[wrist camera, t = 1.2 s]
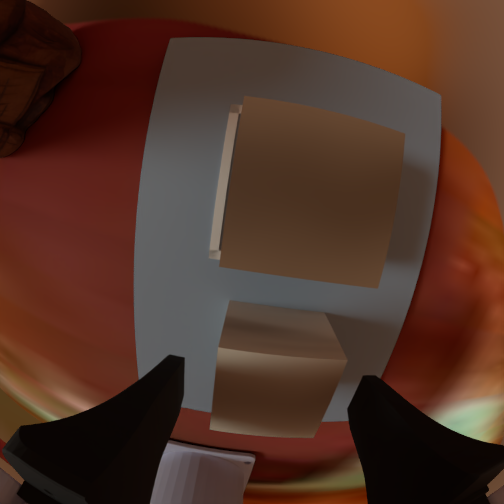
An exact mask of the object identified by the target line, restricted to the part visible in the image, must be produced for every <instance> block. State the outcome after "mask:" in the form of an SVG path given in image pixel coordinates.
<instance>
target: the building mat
mask: <svg viewBox="0 0 504 504" xmlns="http://www.w3.org/2000/svg"><path fill="white" fill-rule="evenodd" d="M244 96H250V97H258V98H265V99H272V100H278V101H284V102H290V103H296V104H301V105H306V106H311V107H315V108H320V109H324V110H328V111H333V112H337V113H341V114H344V115H348V116H352V117H355V118H359V119H362V120H366V121H369V122H372V123H375V124H379V125H382V126H385V127H388V128H391V129H393V130H396V131H399V132H402V133H405V144H404V155H403V164H402V173H401V181H400V188H399V194H398V201H397V207H396V212H395V218H394V223H393V228H392V233H391V238H390V243H389V247H388V251H387V256H386V260H385V264H384V268H383V272H382V276H381V279H380V283H379V287H378V289H376V288H367V287H359V286H351V285H344V284H336V283H328V282H321V281H313V280H306V279H299V278H292V277H285V276H277V275H270V274H264V273H257V272H250V271H243V270H237V269H230V268H223V267H219V263H220V255H221V247H222V239H223V231H224V224H225V216H226V209H227V202H228V195H229V188H230V181H231V174H232V167H233V161H234V154H235V148H236V142H237V136H238V129H239V123H240V117H241V112H242V106H243V100H244ZM440 144H441V95H439V94H438V93H436V92H434V91H431V90H429V89H427V88H425V87H423V86H421V85H419V84H417V83H414V82H412V81H409V80H408V79H405V78H403V77H400V76H398V75H395V74H393V73H390V72H388V71H385V70H382V69H380V68H377V67H373V66H371V65H368V64H365V63H362V62H358V61H355V60H352V59H349V58H345V57H341V56H338V55H334V54H330V53H326V52H322V51H318V50H313V49H309V48H304V47H298V46H293V45H287V44H281V43H274V42H267V41H258V40H248V39H235V38H214V37H187V38H170V41H169V44H168V48H167V51H166V54H165V58H164V61H163V65H162V69H161V73H160V76H159V80H158V84H157V89H156V93H155V97H154V102H153V106H152V111H151V116H150V121H149V126H148V132H147V137H146V143H145V150H144V156H143V163H142V170H141V178H140V187H139V196H138V207H137V219H136V233H135V254H134V318H135V338H136V353H137V365H138V375H139V379H141V378H142V377H143V376H144V375H146V374H147V373H148V372H149V371H151V370H152V369H153V368H154V367H155V366H156V365H158V364H159V363H160V362H161V361H162V360H163V359H164V358H165V357H166V356H168V355H169V354H171V355H176V356H180V357H185V373H184V397H183V401H182V405H181V407H185V408H189V409H194V410H200V411H205V412H211V411H212V401H213V390H214V381H215V371H216V362H217V352H218V345H219V341H220V337H221V333H222V329H223V325H224V321H225V317H226V312H227V308H228V304H229V300H232V301H239V302H245V303H252V304H259V305H267V306H274V307H282V308H290V309H298V310H307V311H316V312H324V313H325V315H326V317H327V319H328V321H329V323H330V325H331V327H332V329H333V331H334V333H335V335H336V337H337V339H338V341H339V343H340V345H341V347H342V349H343V351H344V354H345V356H346V358H347V360H348V361H347V363H346V366H345V368H344V371H343V374H342V376H341V379H340V381H339V383H338V386H337V388H336V391H335V393H334V395H333V397H332V400H331V402H330V404H329V406H328V409H327V411H326V413H325V415H324V417H323V419H322V421H321V422H327V421H349V420H348V413H347V408H348V406H349V404H350V402H351V400H352V398H353V396H354V394H355V391H356V389H357V387H358V385H359V383H360V381H361V378H362V376H363V375H376V376H377V377H379V378H381V376H382V374H383V372H384V369H385V367H386V365H387V363H388V360H389V358H390V356H391V353H392V351H393V349H394V346H395V344H396V341H397V339H398V336H399V334H400V331H401V328H402V326H403V323H404V320H405V317H406V314H407V311H408V308H409V305H410V302H411V299H412V296H413V293H414V290H415V286H416V283H417V279H418V276H419V272H420V269H421V265H422V261H423V257H424V253H425V248H426V244H427V240H428V235H429V230H430V225H431V220H432V214H433V208H434V202H435V195H436V188H437V180H438V170H439V159H440Z"/></svg>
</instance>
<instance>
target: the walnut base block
mask: <svg viewBox="0 0 504 504" xmlns="http://www.w3.org/2000/svg"><path fill="white" fill-rule="evenodd" d="M404 144H405V133H402V132H399V131H396V130H393V129H391V128H388V127H385V126H382V125H379V124H375V123H372V122H369V121H366V120H362V119H359V118H355V117H352V116H348V115H344V114H341V113H337V112H333V111H328V110H324V109H320V108H315V107H311V106H306V105H301V104H296V103H290V102H284V101H278V100H272V99H265V98H258V97H250V96H244V100H243V106H242V112H241V117H240V123H239V129H238V136H237V142H236V148H235V154H234V161H233V167H232V174H231V181H230V188H229V195H228V202H227V209H226V216H225V224H224V231H223V239H222V247H221V255H220V263H219V267H223V268H230V269H237V270H243V271H250V272H257V273H264V274H270V275H277V276H285V277H292V278H299V279H306V280H313V281H321V282H328V283H336V284H344V285H351V286H359V287H367V288H376V289H378V287H379V283H380V279H381V276H382V272H383V268H384V264H385V260H386V256H387V251H388V247H389V243H390V238H391V233H392V228H393V223H394V218H395V212H396V207H397V201H398V194H399V188H400V181H401V173H402V164H403V155H404Z"/></svg>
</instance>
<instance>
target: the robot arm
mask: <svg viewBox="0 0 504 504" xmlns="http://www.w3.org/2000/svg"><path fill="white" fill-rule="evenodd" d="M184 373H185V357H180V356H176V355H171V354H169V355H168V356H166V357H165V358H164V359H163V360H162V361H161V362H160V363H159V364H158V365H156V366H155V367H154V368H153V369H152V370H151V371H149V372H148V373H147V374H146V375H144V376H143V377H142V378H141V379H139V380H138V381H137V382H135V383H134V384H133V385H131V386H130V387H128V388H127V389H125V390H124V391H122V392H121V393H119V394H118V395H116V396H114V397H113V398H111V399H109V400H107V401H106V402H104V403H102V404H100V405H98V406H96V407H93V408H91V409H89V410H86V411H84V412H81V413H79V414H76V415H73V416H70V417H67V418H63V419H60V420H55V421H51V422H46V423H40V424H33V425H24V426H20V427H19V429H18V430H17V431H16V432H15V434H14V435H13V436H12V437H11V439H10V440H9V441H8V442H7V444H6V445H5V446H4V448H3V449H2V452H3V455H4V457H5V458H6V459H7V461H8V462H9V463H10V464H11V466H12V467H13V468H14V469H15V470H16V471H17V472H18V474H19V475H20V476H21V477H22V478H23V479H24V480H25V481H24V482H23V484H22V485H21V484H20V483H18V482H17V481H16V480H15V479H14V478H12V477H11V476H10V475H9V474H7V473H6V472H5V471H4V470H3V469H1V468H0V504H243V493H244V491H245V488H246V485H247V482H248V480H249V477H250V474H251V471H252V468H253V465H254V463H255V455H254V454H251V453H242V452H233V451H225V450H218V449H212V448H206V447H200V446H195V445H190V444H185V443H180V442H176V441H172V440H169V438H170V436H171V433H172V431H173V428H174V426H175V423H176V421H177V418H178V416H179V412H180V409H181V405H182V401H183V397H184ZM347 413H348V420H349V425H350V430H351V433H352V437H353V440H354V443H355V446H356V449H357V452H358V455H359V459H360V462H361V465H362V469H363V473H364V477H365V484H366V491H367V501H368V504H504V486H502V487H501V488H499V489H498V490H497V491H495V492H494V493H492V494H491V495H490V496H488V497H487V496H486V494H485V493H487V492H488V491H489V488H488V486H487V484H488V483H490V482H491V481H492V480H493V479H494V478H495V477H496V476H497V475H498V474H499V473H500V472H501V471H502V470H503V469H504V446H503V445H498V444H493V443H487V442H483V441H479V440H476V439H473V438H470V437H467V436H464V435H462V434H459V433H457V432H455V431H453V430H451V429H449V428H447V427H445V426H443V425H441V424H439V423H438V422H436V421H434V420H433V419H431V418H430V417H428V416H427V415H425V414H424V413H422V412H421V411H420V410H418V409H417V408H416V407H414V406H413V405H412V404H410V403H409V402H408V401H407V400H405V399H404V398H403V397H402V396H401V395H399V394H398V393H397V392H396V391H395V390H393V389H392V388H391V387H390V386H389V385H387V384H386V383H385V382H384V381H383V380H381V379H380V378H379V377H377V376H376V375H363V376H362V378H361V381H360V383H359V385H358V387H357V389H356V391H355V394H354V396H353V398H352V400H351V402H350V404H349V406H348V408H347Z"/></svg>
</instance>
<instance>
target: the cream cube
mask: <svg viewBox="0 0 504 504" xmlns="http://www.w3.org/2000/svg"><path fill="white" fill-rule="evenodd" d="M347 361H348V360H347V358H346V356H345V354H344V351H343V349H342V347H341V345H340V343H339V341H338V339H337V337H336V335H335V333H334V331H333V329H332V327H331V325H330V323H329V321H328V319H327V317H326V315H325V313H324V312H316V311H307V310H298V309H290V308H282V307H274V306H267V305H259V304H252V303H245V302H239V301H232V300H229V304H228V308H227V312H226V317H225V321H224V325H223V329H222V333H221V337H220V341H219V345H218V352H217V362H216V371H215V381H214V390H213V401H212V411H211V422H210V430H216V431H222V432H230V433H237V434H246V435H257V436H270V437H290V438H314V436H315V434H316V432H317V430H318V428H319V426H320V424H321V421H322V419H323V417H324V415H325V413H326V411H327V409H328V406H329V404H330V402H331V400H332V397H333V395H334V393H335V391H336V388H337V386H338V383H339V381H340V379H341V376H342V374H343V371H344V368H345V366H346V363H347Z"/></svg>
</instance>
